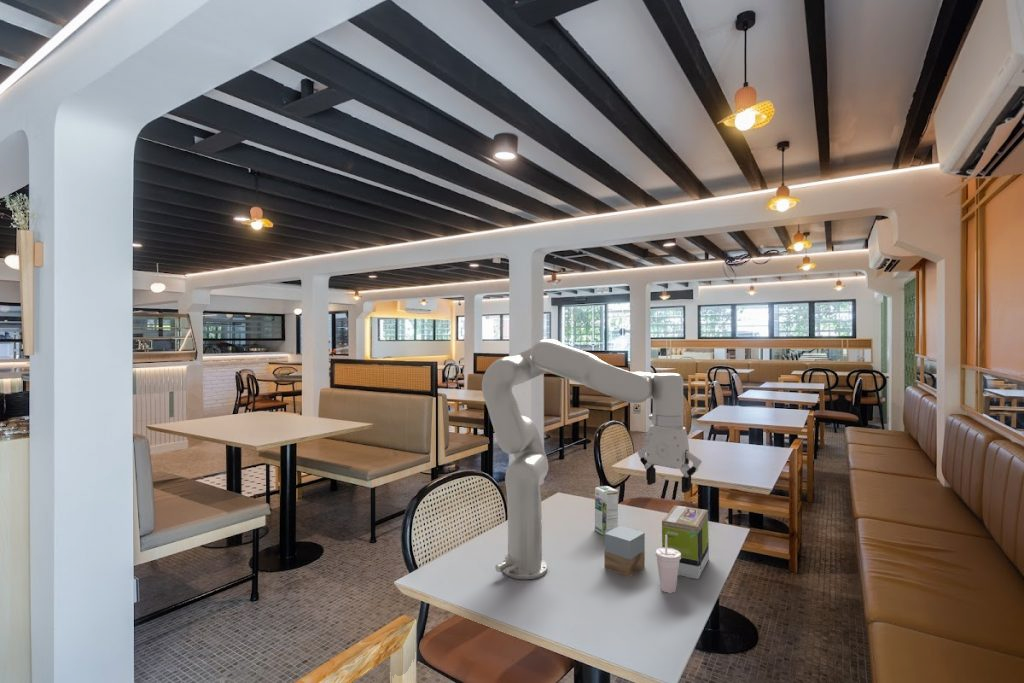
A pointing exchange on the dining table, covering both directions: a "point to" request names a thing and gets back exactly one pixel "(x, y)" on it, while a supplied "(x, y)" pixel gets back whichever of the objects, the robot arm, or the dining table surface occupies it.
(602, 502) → the syrup box
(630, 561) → the tower base
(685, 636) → the dining table surface
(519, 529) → the robot arm
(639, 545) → the tower top
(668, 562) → the smoothie
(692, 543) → the tea box
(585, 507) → the dining table surface
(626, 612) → the dining table surface
